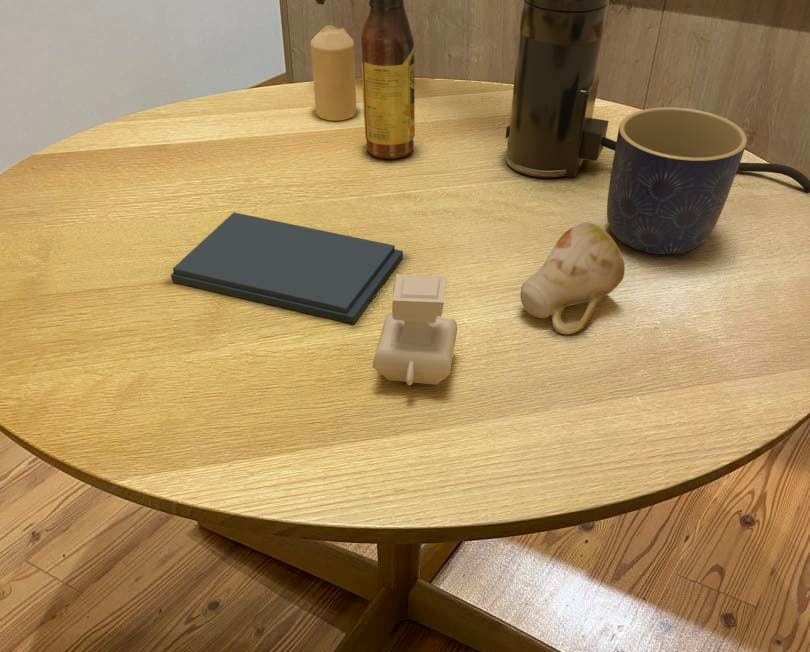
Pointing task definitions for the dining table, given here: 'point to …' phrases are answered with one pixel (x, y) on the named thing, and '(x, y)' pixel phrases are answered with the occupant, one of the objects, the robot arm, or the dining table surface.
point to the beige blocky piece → (416, 332)
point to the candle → (334, 74)
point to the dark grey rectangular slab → (289, 266)
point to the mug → (574, 276)
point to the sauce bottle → (388, 80)
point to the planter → (671, 177)
